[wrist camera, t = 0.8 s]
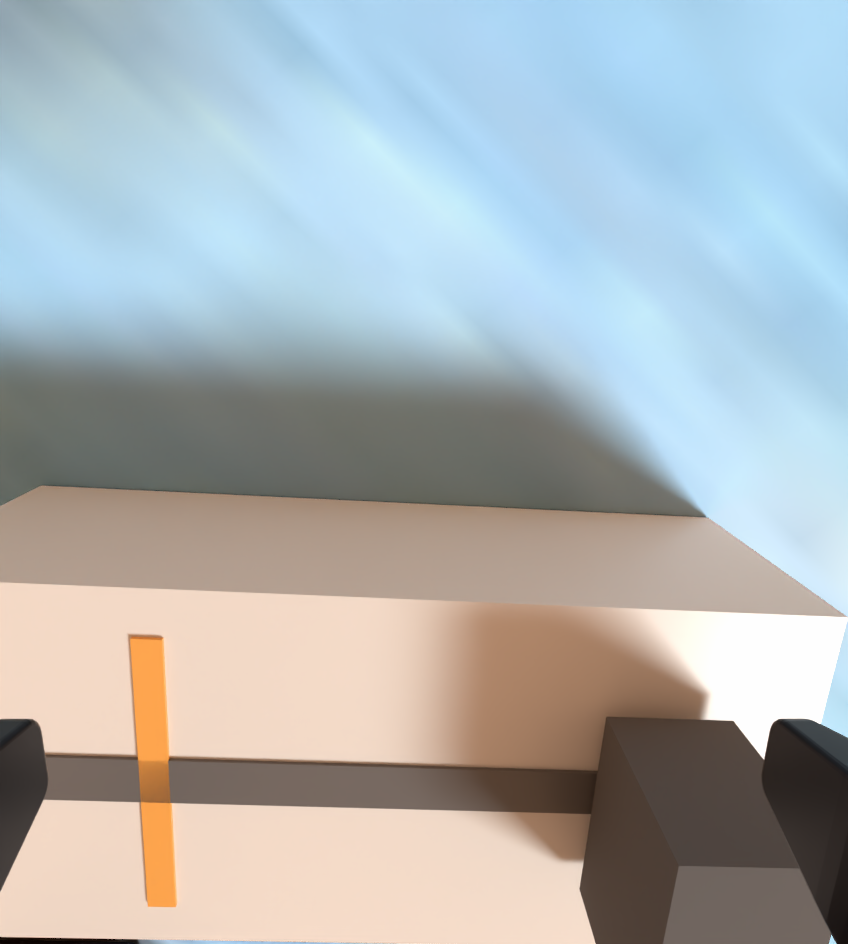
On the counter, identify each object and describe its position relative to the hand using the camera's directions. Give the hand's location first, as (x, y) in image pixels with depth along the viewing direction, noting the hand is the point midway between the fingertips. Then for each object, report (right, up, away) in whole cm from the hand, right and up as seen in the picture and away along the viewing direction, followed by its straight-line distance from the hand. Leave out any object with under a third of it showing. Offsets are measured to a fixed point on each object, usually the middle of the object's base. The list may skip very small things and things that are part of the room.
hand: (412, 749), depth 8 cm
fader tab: (+6, -5, +8) cm, 11 cm away
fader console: (-2, -2, +14) cm, 15 cm away
